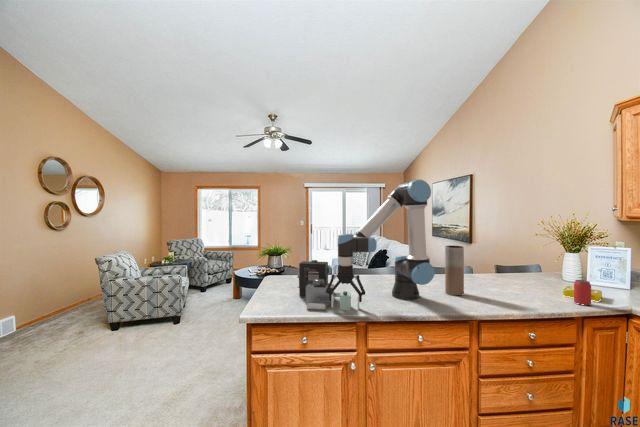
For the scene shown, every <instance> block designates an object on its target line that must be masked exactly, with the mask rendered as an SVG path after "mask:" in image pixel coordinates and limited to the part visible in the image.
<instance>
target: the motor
mask: <svg viewBox="0 0 640 427" xmlns="http://www.w3.org/2000/svg"><path fill="white" fill-rule="evenodd" d="M328 285H329V284H324V279H313V283H309V284H308V285H307V286H306V297H305V305H306V310H307V311H308V310H309V311H323V312H324V311H326V309H327V307H328V306H331V301H330V300H329V294H328V293H326V290H327V287H328ZM334 286H335V284H334V283H332V285H331V287H330V289H329V291H331V290H332V288H333V287H334ZM333 293H334V298H340V294H341V292H335V290H334V291H333Z"/></svg>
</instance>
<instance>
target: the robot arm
mask: <svg viewBox="0 0 640 427" xmlns="http://www.w3.org/2000/svg"><path fill="white" fill-rule="evenodd" d="M431 196H432V188H431V186H430V184H429V183H427V181H425V180H423V179H411V180H408V181H405V182H404V181H403V182H401V183H400V184H398V185H397V186H396V187H395V188H394V189H393V190H392V192H391V193H390V194H388V196H387V197H386V200H385V201H384V202H383V204H381V206H380V207H379V208H378V209H377V210H376V211H375V212H374V213H373V214H372V215H371V216H370V218H368V220H367V221H366V222H365V223H363V224H362V226H361V227H360V228H359V229H358V230H357V231H356V232H355V233H354V234H353V233H339V234H338V235H337V236H338V237H337V274H335V273H332V274H331V278H330V281H329V282H328V283H329V285H328V287H327V290H326V293H328V294H329V300H330V301H331V305H330V306H331V308H332V309H333V308H334V304H335V297H334V293H335V290H336V289H337V287H338V286H340V284H342V285H344V284H345V285H349V284H350V286H352V288H353V289H354V290H355V292H356V293H357V310H360V303H362V301H363V300H362V296H366V290H365V288H364V286H363V284H362V281H361V280H360V274H354V253H374V252H376V250H377V247H378V246H377V245H378V244H377V240H376V238H375V237H372V236H374V234H376V232H377V231H379V229H380V228H381V227H382V226H383V225H384V224H385V223H386V221H387V220H388V219H389V218H390V217H391V216H392V215H393V214H394V213H395V212H396V211H397V210H398V209H399V210H400V209H401V208H402V207H404V208H405V209H406V212H407V213H406V216H407V233H408V234H407V235H408V236H407V238H408V255H397V256H395V257H394V283H393V284H394V285H393V287H392V290H391V296H392V297H394V298H396V299H401V300H407V299H412V300H417V299H416V298H418V299H419V298H420V291H419V288H418V286H417V285H420V286H425V285H428V284H430V283H431V281H433V279H434V277H435V269H434V268H435V267H434V266H433V265H432V264H430V263H431V260H430V257H429V255H427V244H426V241H427V239H426V221H425V220H426V218H425V216H426V215H425V214H426V213H425V209H426V208H427V206H428V200H429V198H430V197H431ZM336 278H337V279H338V281H337V282H336V283H335V284H334V287H333V288H332V290H331V291H329V289H330V287H331V285H332V284H333V283H334V280H335V279H336ZM354 279H355V280H356V281H357V284H358V286H359V288H358V286H357V285H356V283H355V282H354V281H353V280H354ZM333 291H334V293H333Z"/></svg>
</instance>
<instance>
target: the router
mask: <svg viewBox="0 0 640 427" xmlns="http://www.w3.org/2000/svg"><path fill="white" fill-rule="evenodd" d="M298 265H299V267H298V270H299V271H298V272H299V273H298V274H297V277H296V278H298V286H297V287H296V288H298V289H299V291H298V292H299V294H298V295H299V296H298V297H303V298H304V297H305V298H306V286H307V285H308V284H309V283H313V279H324V284H329V283H330V282H329V275H331V273H330V267H331V265H329V262H328V261H318V260H317V259H312V260H311V261H308V260H305V261H304V260H303V261H301V262H299V264H298Z"/></svg>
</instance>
